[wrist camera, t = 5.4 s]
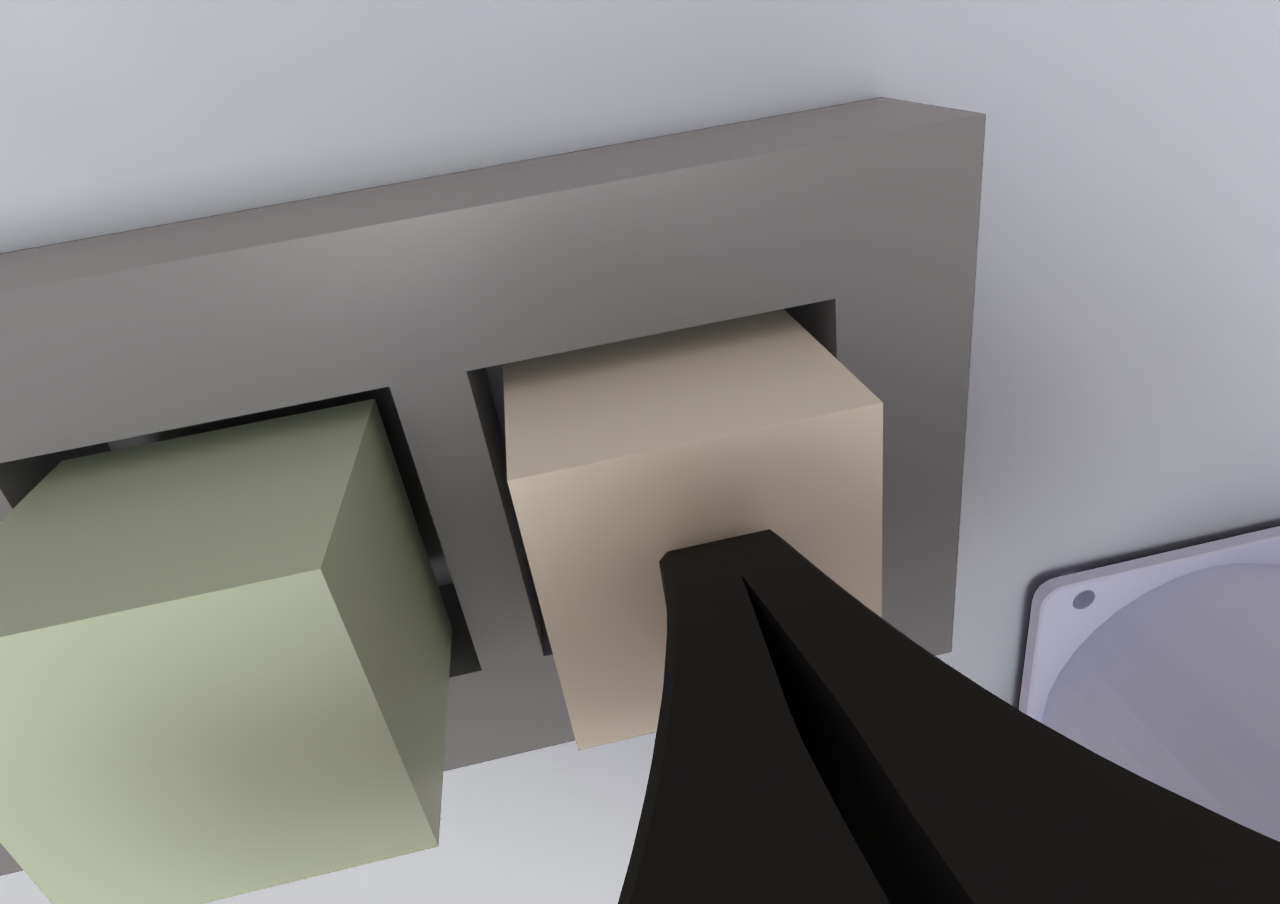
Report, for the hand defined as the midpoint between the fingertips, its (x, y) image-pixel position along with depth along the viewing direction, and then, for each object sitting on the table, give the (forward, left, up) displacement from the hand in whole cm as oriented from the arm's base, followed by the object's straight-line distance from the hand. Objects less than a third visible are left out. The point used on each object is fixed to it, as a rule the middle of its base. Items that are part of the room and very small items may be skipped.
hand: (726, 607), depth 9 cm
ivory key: (0, 0, -4) cm, 4 cm away
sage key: (+6, 0, -3) cm, 7 cm away
